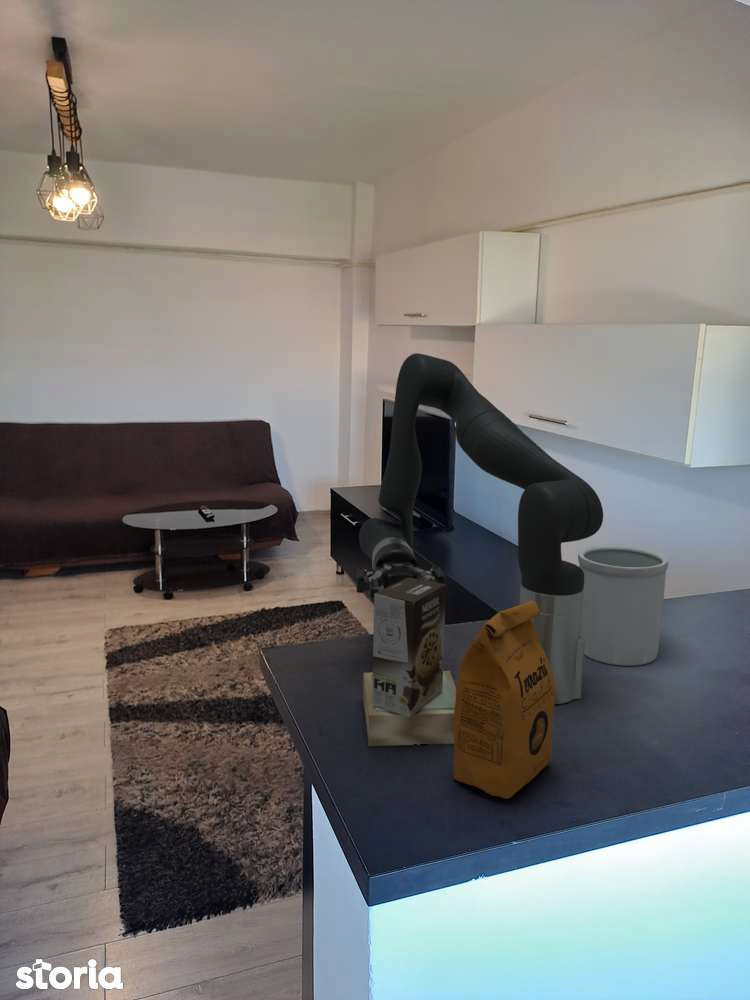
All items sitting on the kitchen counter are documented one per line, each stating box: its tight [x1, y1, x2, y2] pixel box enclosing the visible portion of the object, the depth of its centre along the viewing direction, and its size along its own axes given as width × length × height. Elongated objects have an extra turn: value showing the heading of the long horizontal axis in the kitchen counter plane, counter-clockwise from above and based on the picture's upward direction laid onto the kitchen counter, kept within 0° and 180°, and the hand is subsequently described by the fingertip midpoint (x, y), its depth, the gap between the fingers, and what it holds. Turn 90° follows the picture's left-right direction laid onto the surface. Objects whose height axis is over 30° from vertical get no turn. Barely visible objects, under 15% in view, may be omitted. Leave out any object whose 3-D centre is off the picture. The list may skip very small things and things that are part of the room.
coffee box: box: [372, 577, 447, 717], centre depth 102 cm, size 9×6×16 cm
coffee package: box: [452, 601, 556, 800], centre depth 92 cm, size 10×12×22 cm
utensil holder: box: [577, 544, 669, 667], centre depth 131 cm, size 15×15×18 cm
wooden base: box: [362, 670, 457, 747], centre depth 107 cm, size 13×13×5 cm
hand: (404, 594), depth 115 cm, fingers open, 8 cm apart
